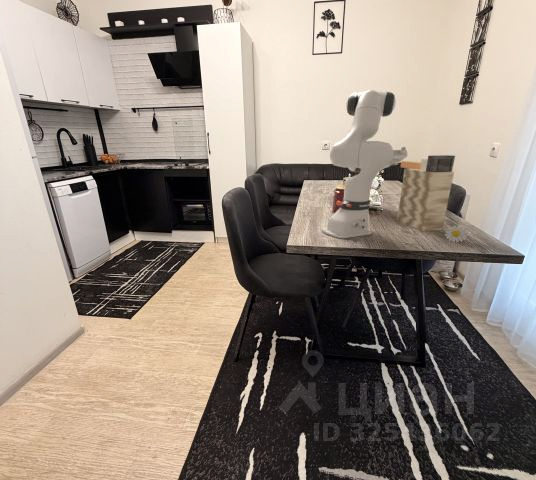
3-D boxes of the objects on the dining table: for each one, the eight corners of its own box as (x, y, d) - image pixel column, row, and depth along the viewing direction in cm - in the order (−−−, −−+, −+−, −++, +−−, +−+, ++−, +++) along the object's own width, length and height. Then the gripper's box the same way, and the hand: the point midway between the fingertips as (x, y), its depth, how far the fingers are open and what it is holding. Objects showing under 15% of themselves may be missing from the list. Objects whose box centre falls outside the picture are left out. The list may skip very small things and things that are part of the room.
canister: (350, 208, 171) (352, 179, 165) (358, 214, 158) (361, 182, 153) (329, 209, 170) (331, 180, 164) (335, 214, 158) (337, 183, 152)
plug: (398, 167, 144) (399, 157, 142) (408, 166, 145) (409, 156, 143) (432, 171, 122) (434, 159, 120) (444, 171, 123) (446, 159, 121)
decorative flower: (438, 216, 123) (468, 226, 110) (445, 225, 126) (475, 235, 112) (425, 229, 124) (453, 240, 110) (432, 238, 127) (460, 250, 113)
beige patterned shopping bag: (397, 220, 145) (406, 154, 134) (414, 219, 146) (425, 153, 136) (423, 231, 127) (436, 156, 116) (442, 229, 129) (457, 155, 118)
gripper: (364, 155, 159) (377, 143, 146) (396, 154, 163) (412, 142, 150) (366, 166, 158) (379, 154, 145) (398, 164, 162) (414, 153, 149)
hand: (396, 148), depth 147 cm, fingers open, 8 cm apart
